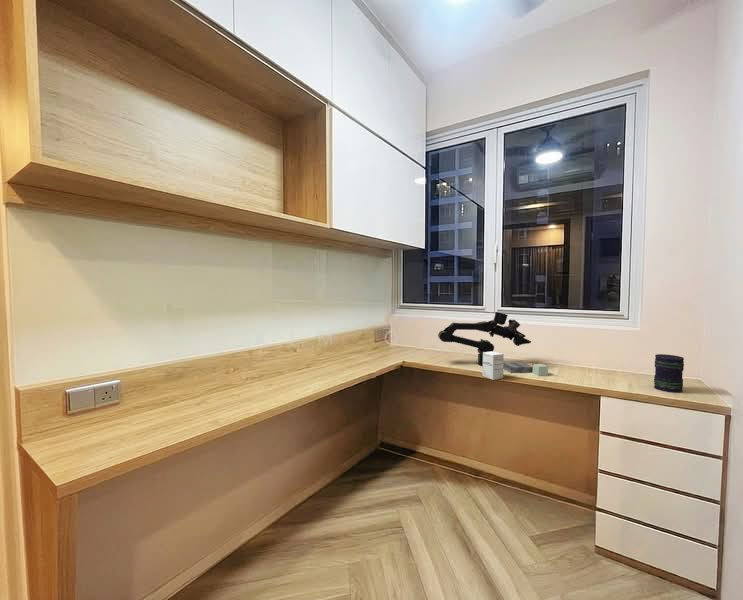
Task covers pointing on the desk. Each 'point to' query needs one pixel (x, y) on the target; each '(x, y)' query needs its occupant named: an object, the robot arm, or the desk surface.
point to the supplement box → (493, 365)
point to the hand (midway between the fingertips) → (528, 339)
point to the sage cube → (540, 370)
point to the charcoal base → (517, 367)
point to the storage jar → (668, 373)
